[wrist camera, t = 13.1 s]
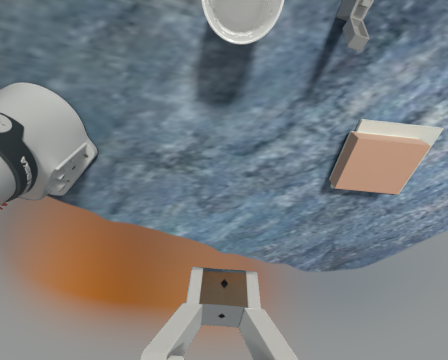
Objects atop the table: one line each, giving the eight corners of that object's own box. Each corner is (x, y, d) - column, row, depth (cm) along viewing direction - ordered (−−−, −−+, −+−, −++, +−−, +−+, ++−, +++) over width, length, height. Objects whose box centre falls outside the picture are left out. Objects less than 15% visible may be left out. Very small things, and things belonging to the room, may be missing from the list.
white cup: (241, -57, 26) (247, -94, 18) (282, 4, 29) (302, -4, 21) (196, 3, 30) (183, -6, 21) (237, 52, 33) (239, 62, 24)
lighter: (352, -23, 28) (391, -38, 21) (365, -19, 28) (407, -32, 21) (324, 42, 32) (349, 47, 25) (335, 46, 32) (363, 51, 25)
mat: (329, 186, 46) (330, 187, 45) (360, 119, 38) (362, 120, 37) (396, 192, 46) (398, 194, 46) (440, 127, 38) (443, 129, 38)
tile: (334, 188, 41) (397, 194, 42) (358, 138, 36) (431, 145, 36) (328, 179, 44) (388, 185, 44) (350, 131, 38) (418, 138, 39)
